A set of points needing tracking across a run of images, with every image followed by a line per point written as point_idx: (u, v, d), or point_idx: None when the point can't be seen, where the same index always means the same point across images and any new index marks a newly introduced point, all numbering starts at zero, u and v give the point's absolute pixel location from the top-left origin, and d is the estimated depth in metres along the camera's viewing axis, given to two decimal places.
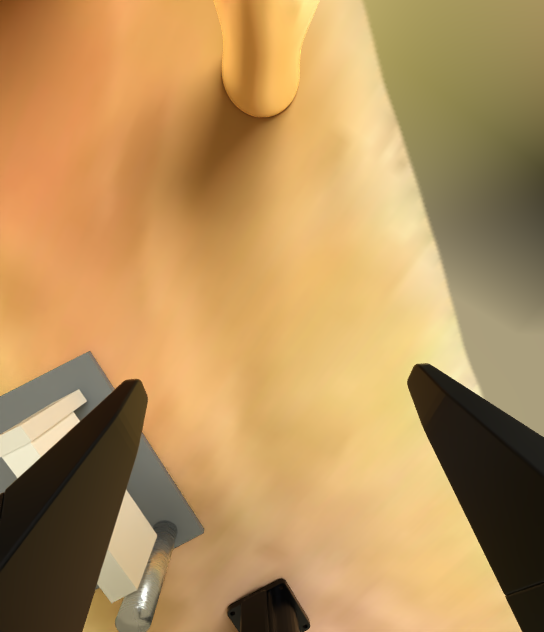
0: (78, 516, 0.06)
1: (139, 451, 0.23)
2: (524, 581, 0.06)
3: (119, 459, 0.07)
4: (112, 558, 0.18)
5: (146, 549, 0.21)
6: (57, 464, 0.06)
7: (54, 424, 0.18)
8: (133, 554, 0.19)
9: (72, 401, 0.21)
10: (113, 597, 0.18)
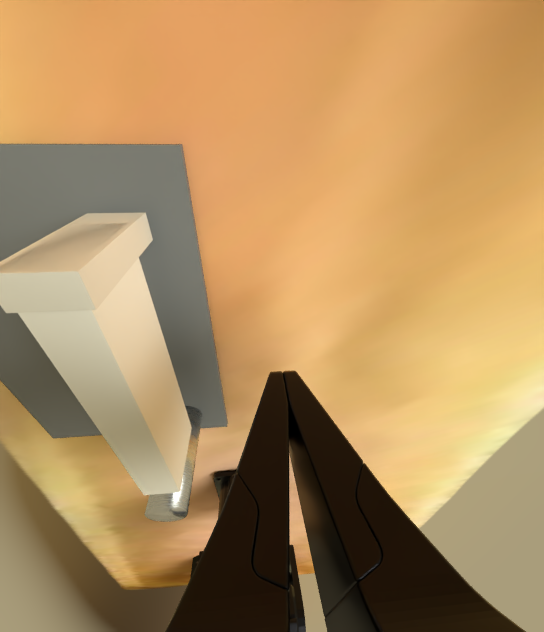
0: None
1: (198, 335, 0.16)
2: (328, 604, 0.05)
3: None
4: (165, 467, 0.13)
5: (185, 446, 0.17)
6: (262, 449, 0.06)
7: (120, 276, 0.09)
8: (179, 455, 0.15)
9: (139, 235, 0.11)
10: (148, 492, 0.15)
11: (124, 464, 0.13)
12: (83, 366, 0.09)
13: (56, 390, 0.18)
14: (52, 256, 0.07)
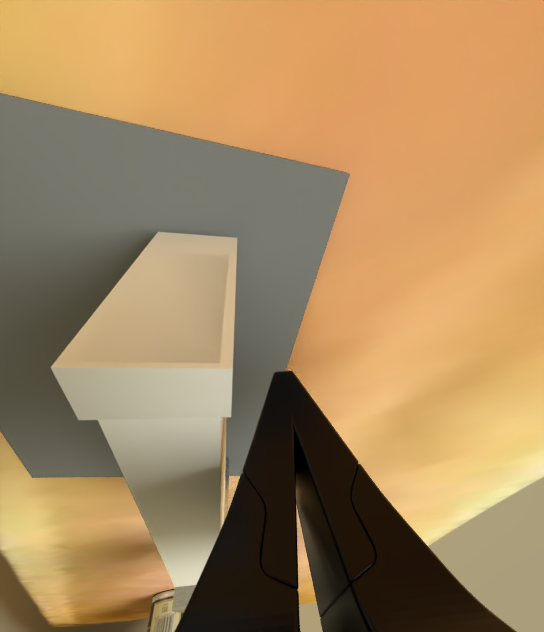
0: None
1: (265, 383, 0.13)
2: (323, 605, 0.05)
3: None
4: None
5: None
6: (268, 448, 0.06)
7: None
8: None
9: None
10: (182, 584, 0.11)
11: (166, 564, 0.10)
12: (168, 477, 0.06)
13: (60, 426, 0.14)
14: (163, 323, 0.04)
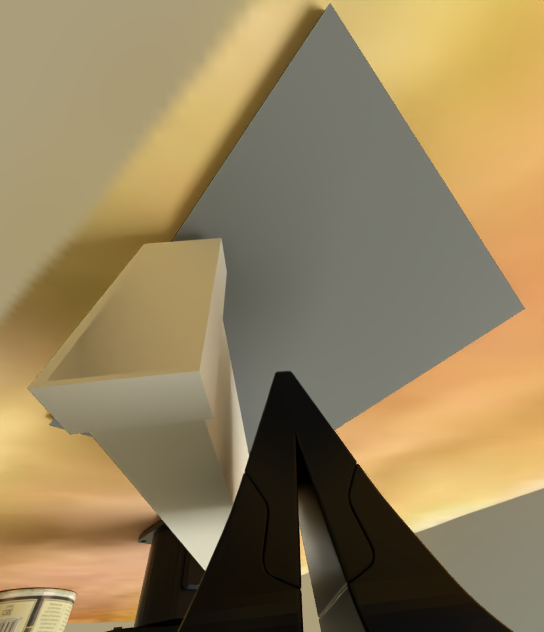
0: None
1: (351, 409, 0.16)
2: (322, 605, 0.05)
3: None
4: None
5: None
6: (270, 449, 0.06)
7: None
8: None
9: (221, 271, 0.08)
10: None
11: (198, 560, 0.10)
12: (173, 480, 0.06)
13: None
14: (137, 333, 0.05)
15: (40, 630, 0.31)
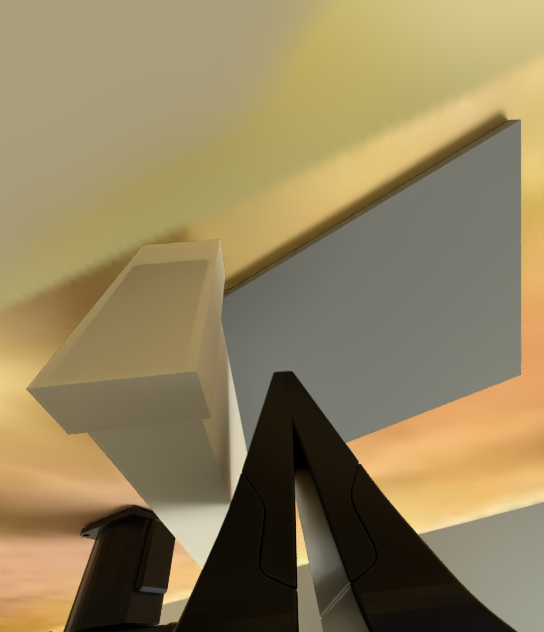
0: None
1: (360, 430, 0.17)
2: (324, 605, 0.05)
3: None
4: None
5: None
6: (267, 449, 0.06)
7: None
8: None
9: (220, 272, 0.08)
10: None
11: (197, 562, 0.10)
12: (171, 480, 0.06)
13: None
14: (135, 334, 0.05)
15: None
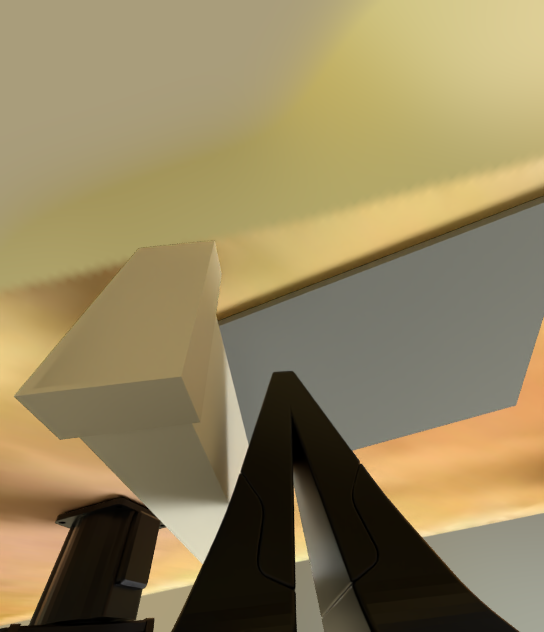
0: None
1: (365, 441, 0.18)
2: (325, 604, 0.05)
3: None
4: None
5: None
6: (266, 449, 0.06)
7: None
8: None
9: (214, 273, 0.08)
10: None
11: (201, 560, 0.10)
12: (167, 482, 0.06)
13: (243, 369, 0.13)
14: (123, 339, 0.05)
15: None
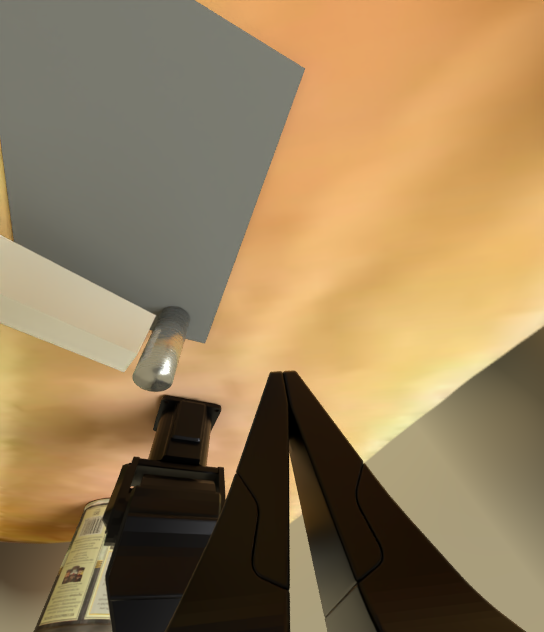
0: None
1: (230, 237, 0.18)
2: (328, 604, 0.05)
3: None
4: (83, 331, 0.15)
5: (141, 325, 0.18)
6: (262, 449, 0.06)
7: None
8: (120, 328, 0.16)
9: None
10: (120, 367, 0.16)
11: (60, 345, 0.15)
12: None
13: (63, 242, 0.18)
14: None
15: None
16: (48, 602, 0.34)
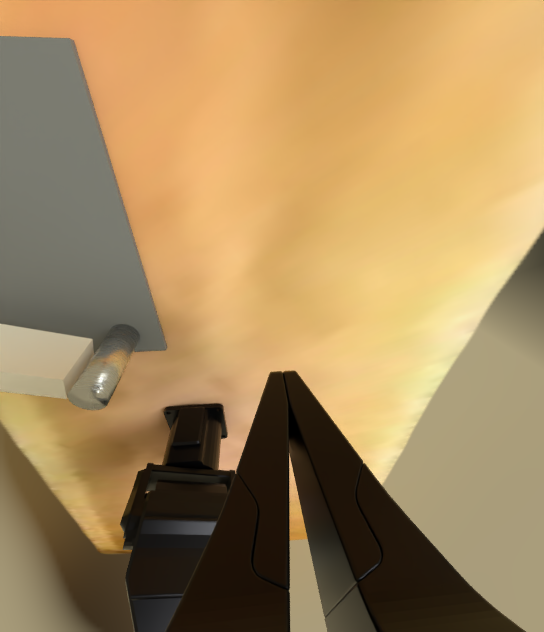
0: None
1: (119, 242, 0.18)
2: (328, 605, 0.05)
3: None
4: (6, 373, 0.16)
5: (73, 352, 0.19)
6: (262, 449, 0.06)
7: None
8: (47, 361, 0.18)
9: None
10: (60, 395, 0.18)
11: (1, 390, 0.17)
12: None
13: None
14: None
15: None
16: None
